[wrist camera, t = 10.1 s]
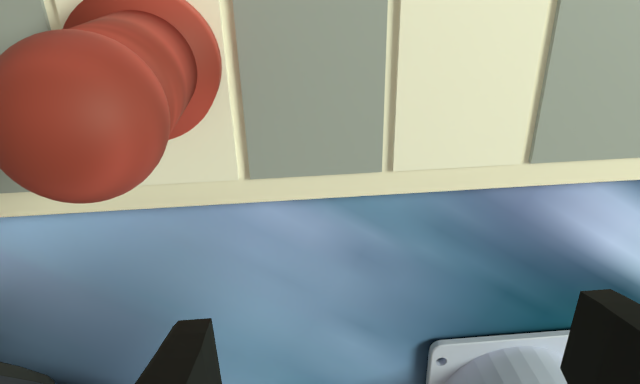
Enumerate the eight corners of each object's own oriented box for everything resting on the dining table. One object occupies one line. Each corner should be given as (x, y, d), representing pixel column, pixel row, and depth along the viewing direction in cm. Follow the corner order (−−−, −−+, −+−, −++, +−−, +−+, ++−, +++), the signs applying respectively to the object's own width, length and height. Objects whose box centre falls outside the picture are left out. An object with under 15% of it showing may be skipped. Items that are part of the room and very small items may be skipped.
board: (666, 166, 19) (689, 178, 18) (-71, 208, 17) (-93, 225, 16) (763, -135, 15) (801, -142, 14) (-214, -117, 13) (-258, -124, 12)
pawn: (229, 127, 16) (195, 251, 9) (91, 134, 15) (-45, 266, 9) (212, -19, 14) (154, 5, 7) (54, -14, 13) (-154, 15, 7)
